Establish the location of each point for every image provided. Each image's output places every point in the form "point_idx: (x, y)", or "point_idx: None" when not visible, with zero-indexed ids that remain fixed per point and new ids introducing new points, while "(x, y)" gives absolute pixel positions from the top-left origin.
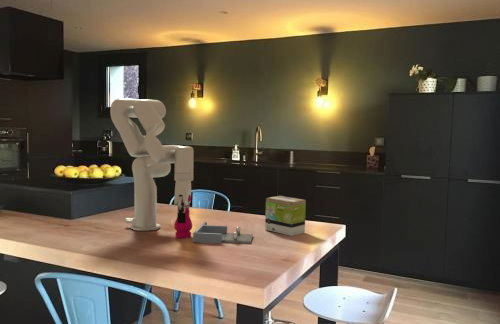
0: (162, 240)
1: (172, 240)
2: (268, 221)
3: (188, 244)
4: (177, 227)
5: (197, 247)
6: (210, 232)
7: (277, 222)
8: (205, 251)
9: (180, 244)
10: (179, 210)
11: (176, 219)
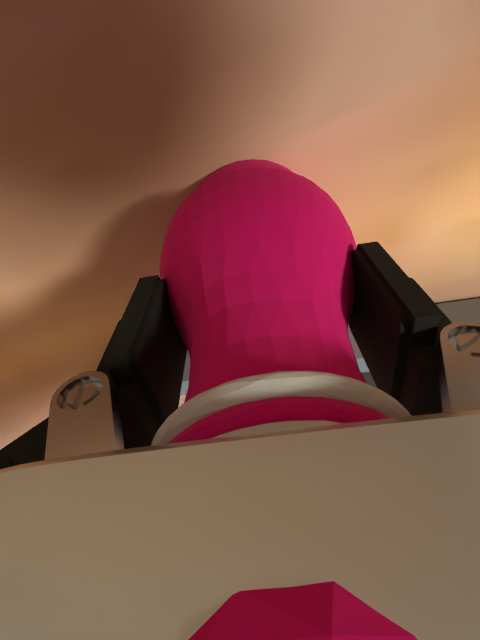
0: (41, 100)
1: (97, 195)
2: None
3: (66, 337)
4: (163, 245)
5: (42, 393)
6: (366, 372)
7: None
8: (5, 435)
9: (33, 297)
10: (30, 454)
11: (204, 245)
